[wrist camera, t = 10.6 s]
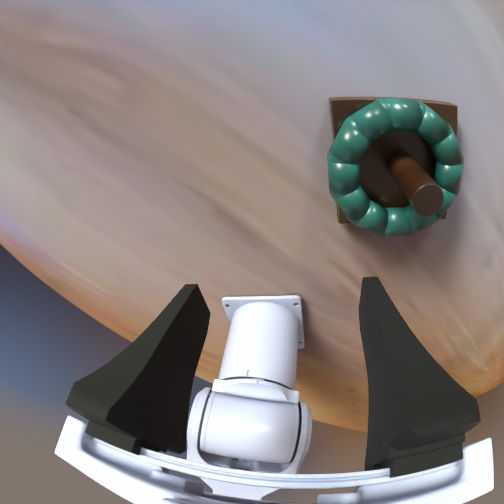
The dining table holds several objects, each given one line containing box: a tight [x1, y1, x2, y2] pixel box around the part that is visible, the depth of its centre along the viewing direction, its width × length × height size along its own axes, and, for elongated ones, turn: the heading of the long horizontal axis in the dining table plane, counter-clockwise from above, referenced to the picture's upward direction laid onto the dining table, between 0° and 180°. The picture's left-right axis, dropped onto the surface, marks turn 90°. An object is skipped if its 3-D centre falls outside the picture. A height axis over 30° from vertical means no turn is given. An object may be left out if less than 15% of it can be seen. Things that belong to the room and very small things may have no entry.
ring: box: [327, 98, 463, 236], centre depth 15 cm, size 10×10×2 cm
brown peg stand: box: [329, 97, 457, 223], centre depth 14 cm, size 9×9×6 cm
